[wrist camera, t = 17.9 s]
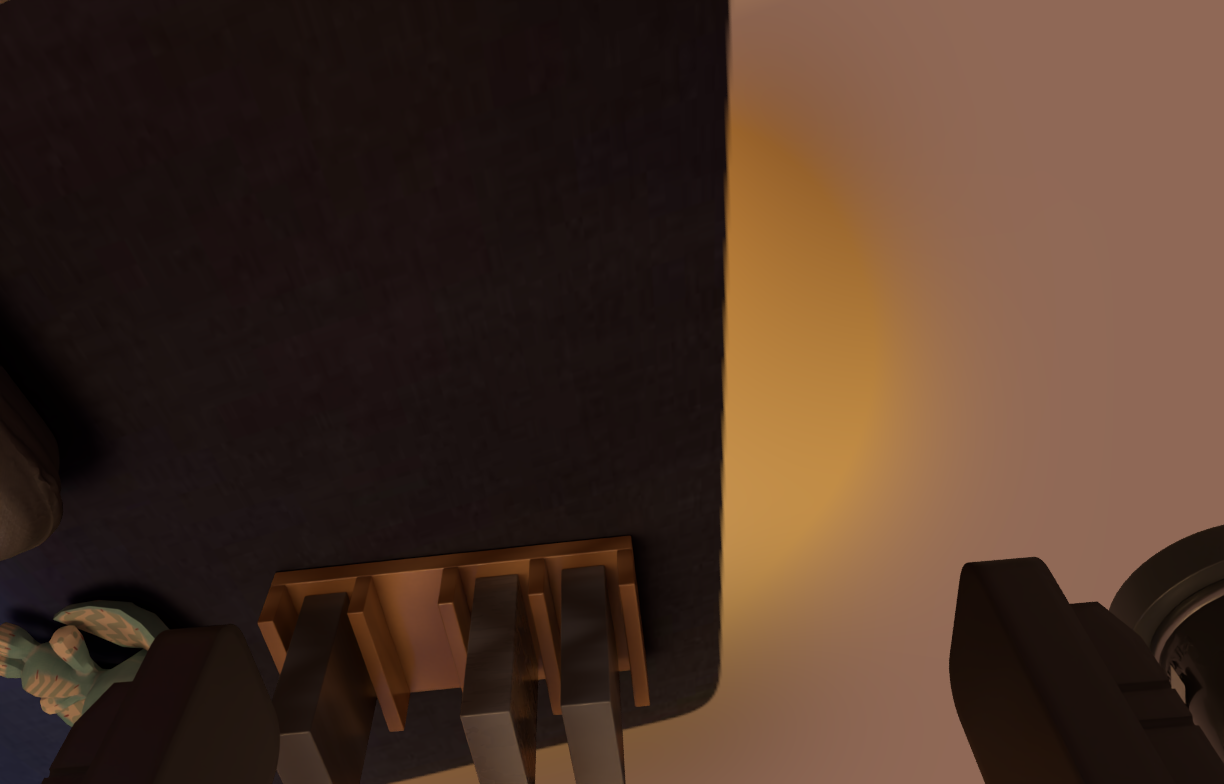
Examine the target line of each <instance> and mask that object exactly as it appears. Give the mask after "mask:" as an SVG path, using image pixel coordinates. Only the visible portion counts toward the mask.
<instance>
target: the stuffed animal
mask: <svg viewBox="0 0 1224 784" xmlns="http://www.w3.org/2000/svg"><path fill="white" fill-rule="evenodd" d="M53 620H56V621H58V622H61V623H64V624H66V625H68V626H64V627H61V628H59V629H58V630H57V631H55V632H54V634H53V636H52V638H51V640H50V642H46V643H42V644H40V643H39V642H37V641H36V640H35V639H34V638H33V637H32V636H31V635H30V634H29V633H28V632H27V631H26V630H24V629H22V628H21V627H19V626H17V625H14V624H10V623H7V622H5V623H3V624H2V625H0V675H1V676H4V677H7V678H21V680H22V686H23V689H24V690H25V691H27V692H28V693H30V694H32V695H34V696H36V697H41V700H40V703H41V707H42V710H43V711H45V712H46V713H48V714H53V713H57V714H58V715H59V716H60V717H61V718H62V719H63V720H64V721H65V722H66V723H67V724H68V725H70V726H71V727H72V726H73V725H74V723H75V722H76V721H77V720H78V719H79V718H80V717H81V716H82V715H83V714H84V713H85V712H86V711H87V710H88V709H89V708H90V707H91V706H92V705H93V704H94V703H95V702H96V701H97V700H98V699H99V697H100V696H101V695H102V694H103V693H104V692H105V691H106V690H107V689H108V688H109V687H110V686H111V685H112V684H113V683H116V682H128V681H133V679H134V677H135V675H136V673H137V671H138V669H139V667H140V666H141V664H142V662H143V660H144V658H145V656H146V654H147V652H148V650H149V648H150V646H151V644H152V642H153V641H154V639H155V638H156V636H157V635H158V634H159V633H161V632H162V631H164V630H169V628H168V627H167V626H166V625H165V624H164V623H163V622H162V621H161V619H160V618H159V617H158V616H157V615H156V614H154V613H152V612H150V611H147V610H145V609H143V608H140V607H138V606H136V605H135V604H133V603H132V602H122V601H107V600H95V601H89V602H83V603H77V604H71V605H69V606H67V607H65V608H64V609H62V610H61V611H59V612H58V613H56V614H55V615H54V618H53ZM78 629H80V630H83V631H86V632H88V633H91V634H94V635H96V636H98V637H101V638H103V639H105V640H108V641H110V642H112V643H115V644H117V645H120V646H122V647H131V648H143V649H142V650H141V651H139V652H138V653H136V654H135V655H133V656H132V657H130V658H129V659H127V660H125V661H124V662H122V663H121V664H119V665H117V666H116V667H114V668H112V669H102V668H101V667H100V666H98V665H97V664H96V663H95V662H94V661H93V660H92V659H91V658H90V655H89V652H88V649H87V647H86V644H85V641H84V638H83V635H82V634H81V633H80V632H79V630H78Z"/></svg>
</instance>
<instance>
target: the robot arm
mask: <svg viewBox="0 0 1224 784" xmlns="http://www.w3.org/2000/svg"><path fill="white" fill-rule="evenodd" d="M949 673H950V683H951V689H952V695H953V699H954V703H955V707H956V710H957V713H958V716H959V719H960V722H961V724H962V727H963V729H964V732H965V734H966V736H967V739H968V742H969V744H970V747H971V749H972V752H973V754H974V757H975V759H976V762H977V764H978V767H979V769H980V772H981V774H982V776H983V779H984V782H985V784H1224V579H1223V580H1221V581H1218V582H1216V583H1214V584H1211V585H1209V586H1207V587H1205V588H1203V589H1202V590H1200V591H1198V592H1196V593H1195V594H1193V595H1192V596H1190V597H1189V598H1187V599H1186V600H1184V601H1183V602H1182V603H1181V604H1179V605H1178V606H1177V607H1176V608H1175V609H1174V610H1173V611H1172V612H1171V613H1170V614H1169V615H1168V616H1167V617H1166V618H1165V619H1164V620H1163V622H1162V623H1161V624H1160V626H1159V627H1158V629H1157V631H1156V633H1155V635H1154V637H1153V639H1152V642H1151V646H1150V649H1149V648H1148V646H1147V645H1146V643H1145V642H1144V640H1143V639H1142V637H1141V636H1140V635H1138V634H1137V633H1136V632H1135V631H1133V630H1132V629H1131V628H1130V627H1128V626H1127V625H1126V624H1125V623H1123V622H1122V621H1121V620H1120V619H1118V618H1117V617H1116V616H1115V615H1113V614H1112V613H1111V612H1110V611H1108V610H1107V609H1106V608H1105V607H1103V606H1102V605H1101V604H1100V603H1098V602H1086V603H1075V604H1069V602H1068V601H1067V599H1066V597H1065V595H1064V594H1063V592H1062V590H1061V589H1060V587H1059V585H1058V584H1057V582H1056V580H1055V578H1054V577H1053V575H1052V573H1051V572H1050V570H1049V569H1048V567H1047V566H1046V564H1045V563H1044V562H1043V561H1042V560H1041V559H1039V558H1037V557H1028V558H1016V559H1005V560H994V561H981V562H970V563H966V564H965V565H964V566H963V568H962V571H961V575H960V581H959V589H958V597H957V604H956V611H955V620H954V627H953V635H952V642H951V649H950V658H949ZM279 751H280V730H279V722H278V718H277V714H276V711H275V708H274V706H273V704H272V701H271V699H270V697H269V694H268V692H267V689H266V687H265V685H264V682H263V680H262V678H261V675H260V673H259V671H258V668H257V666H256V663H255V661H254V659H253V656H252V654H251V652H250V649H249V647H248V645H247V642H246V640H245V637H244V635H243V633H242V632H241V630H240V629H239V628H238V627H237V626H236V625H233V624H227V625H215V626H204V627H192V628H181V629H169V630H164V631H162V632H161V633H159V634H158V635H157V636H156V638H155V639H154V641H153V642H152V644H151V646H150V648H149V650H148V652H147V654H146V656H145V658H144V660H143V662H142V664H141V666H140V667H139V669H138V671H137V673H136V675H135V677H134V679H133V681H128V682H116V683H113V684H112V685H111V686H110V687H109V688H108V689H107V690H106V691H105V692H104V693H103V694H102V695H101V696H100V697H99V699H98V700H97V701H96V702H95V703H94V704H93V705H92V706H91V707H90V708H89V709H88V710H87V711H86V712H85V713H84V714H83V715H82V716H81V717H80V718H79V719H78V720H77V721H76V722H75V723H74V725H73V726H72V728H71V730H70V732H69V734H68V736H67V737H66V739H65V741H64V743H63V745H62V747H61V748H60V750H59V752H58V754H57V756H56V758H55V759H54V761H53V763H52V765H51V767H50V769H49V770H50V775H49V778H44V780H43V781H42V783H41V784H272V782H273V779H274V776H275V772H276V769H277V765H278V759H279Z"/></svg>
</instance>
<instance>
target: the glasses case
mask: <svg viewBox="0 0 1224 784" xmlns="http://www.w3.org/2000/svg"><path fill="white" fill-rule="evenodd" d="M59 462H60V458H59V448H58V444H57V441H56V439H55V437H54V436H53V434H52V432H51V431H50V429H49V428H48V426H47V425H46V423H45V422H44V421H43V419H42V418H41V417H40V415H39V414H38V413H37V411H36V410H35V409H34V407H33V406H32V405H31V404H30V402H29V401H28V400H27V398H26V397H25V396H24V394H23V393H22V392H21V391H20V389H19V388H18V386H17V385H16V384H15V383H14V381H13V380H12V378H11V377H10V376H9V374H8V373H7V372H6V371H5V369H4V368H3V367H2V365H1V364H0V561H2V560H5V559H8V558H11V557H13V556H16V555H18V554H20V553H23V552H25V551H27V550H30V549H32V548H35V547H36V546H38V545H40V544H42V543H43V542H44V541H45V540H47V538H48V537H49V536H50V535H51V534H52V533H53V532H54V531H55V530H56V529H57V527H58V526H59V524H60V522H61V519H62V515H63V502H62V499H61V495H60V491H61V482H60V477H59V474H58V473H59V466H60V463H59Z"/></svg>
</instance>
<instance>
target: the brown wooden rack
mask: <svg viewBox="0 0 1224 784" xmlns="http://www.w3.org/2000/svg"><path fill="white" fill-rule="evenodd" d="M258 625H259V628H260V630H261V632H262V635H263V637H264V639H265V641H266V644H267V646H268V648H269V651H270V653H271V655H272V657H273V660H274V662H275V664H276V667H277V669H278V671H279V673H280V677H279V680H278V683H277V687H276V690H275V693H274V696H273V699H272V704H273V706H274V708H275V711H276V714H277V718H278V722H279V730H280V751H279V759H278V765H277V771H278V773H279V776H280V778H281V780H282V782H283V784H360V779H361V774H362V769H363V764H364V759H365V755H366V750H367V745H368V740H369V735H370V730H371V725H372V720H373V715H374V710H375V705H376V700H377V698H378V700H379V703H380V706H381V709H382V711H383V714H384V717H385V720H386V723H387V725H388V728H389V731H390V732H392V731H402V730H404V727H405V721H406V716H407V710H408V704H409V698H410V692H419V691H429V690H439V689H449V688H459V687H461V689H462V692H463V695H462V704H461V713H460V718H461V721H462V724H463V728H464V731H465V735H466V738H467V741H468V745H469V748H470V752H471V755H472V758H473V762H474V765H475V769H476V772H477V775H478V779H479V782H480V784H535V764H536V732H537V700H538V679H546V683H547V688H548V693H549V697H550V702H551V707H552V712H553V714H554V715H559V714H562V716H563V721H564V726H565V731H566V736H567V741H568V746H569V750H570V755H571V760H572V765H573V770H574V775H575V780H576V784H625V769H624V750H623V733H622V715H621V698H620V680H619V671H626V670H630V672H631V679H632V686H633V693H634V701H635V706H636V707H639V706H649V705H650V697H649V685H648V674H647V662H646V652H645V644H644V636H643V628H642V620H641V612H640V604H639V596H638V588H637V580H636V572H635V563H634V555H633V547H632V539H631V536H620V537H611V538H601V539H592V540H582V541H572V542H563V543H553V544H544V545H534V546H525V547H515V548H506V549H496V550H487V551H477V552H468V553H458V554H449V555H439V556H429V557H420V558H410V559H401V560H391V561H382V562H372V563H363V564H353V565H344V566H334V567H325V568H315V569H306V570H296V571H287V572H277V573H275V576H274V578H273V581H272V584H271V587H270V589H269V592H268V595H267V598H266V600H265V603H264V606H263V609H262V612H261V614H260V617H259V620H258Z"/></svg>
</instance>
